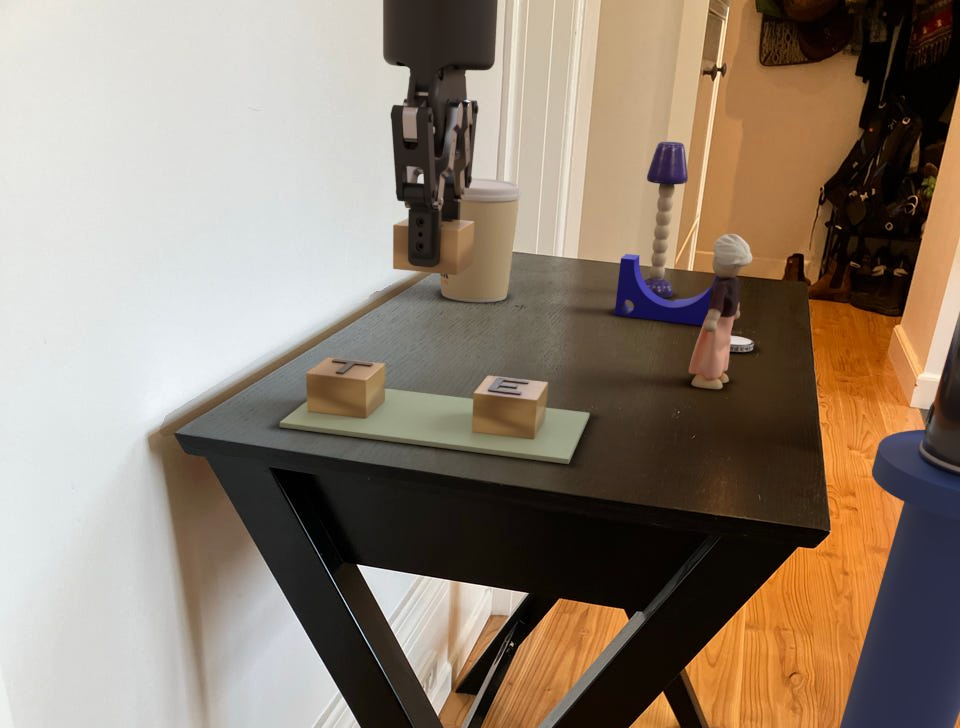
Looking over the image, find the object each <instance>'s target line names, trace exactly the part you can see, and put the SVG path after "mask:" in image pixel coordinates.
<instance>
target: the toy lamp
mask: <svg viewBox="0 0 960 728" xmlns="http://www.w3.org/2000/svg"><path fill="white" fill-rule="evenodd" d="M687 166H688V165H687V157H686V149H685V145H684V143H682V142H677V141H660V142H659V143H657V145H656V148H655V151H654V154H653V156H652V160H651V162H650V165H649V168H648V172H647V175H646V180H647V182H649V183H652V184H659V186H658V196H659V197H658V199H657V203H656V207H657V212H656V215H655V223H656V224H655V227H654V231H653V235H654V240H653V242H652V251H653V252H652V255H651V259H650V260H651V267H650V269H649V277H648V278H646V279H643V280H644V282H645V283H646V285H647V286H648V288H649V289H650V290H651V291H652V292H653V293H654V294H656V295H657V296H659V297H660V298H662V299H669V298H671V297H673V296H674V292H673V287H672V284H671V283H670V281H668V280H667V279H665V278H664V277H665V274H666V268H665V264H666V262H667V251H668V248H669V241H668V238H669V236H670V233H671V229H670V228H671V227H670V224H671V221H672V212H671V211H672V209H673V205H674V199H673V196H674V194H675V188H676V187H675V185H684V184H686V183H687V182H688V180H689V179H688V177H689V176H688V175H689V174H688V167H687Z"/></svg>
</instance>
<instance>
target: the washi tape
mask: <svg viewBox="0 0 960 728" xmlns="http://www.w3.org/2000/svg"><path fill="white" fill-rule="evenodd" d="M754 345H755V342H754V341H753V340H752V339H749V338H746V337H742V336H738V335H737V336H736V335H731V343H730V352H733V353H734V352H736V353H739V352H740V353H746V352H751V351H753V350H754Z"/></svg>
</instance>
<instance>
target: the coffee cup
mask: <svg viewBox="0 0 960 728" xmlns="http://www.w3.org/2000/svg"><path fill="white" fill-rule="evenodd" d="M521 195H522V194H521V191H520V190H519V185H518V184H517V183H514V182H511V181H508V180H507V181H506V180H500V179H490V178H477V177H476V178H475V177H472V182H471V183H470V187H469V188H466V193H465V195H464V198H463V200H459V199H458V201H459V202H461V207H460V220H464V221H474V243H473V263H472V264H471V265H470V266H468V267H467V268H466V269H464V270H463V271H461V272H460V273H459V274H457V275H450V274H440V273H439V274H440V276H439V277H440V290H441V291H440V292H441V295H442V296H443V297H444V298H446V299H450V300H454V301H458V302H466V303H467V302H468V303H479V304H480V303H481V304H482V303H496V302H499V301H500V302H501V301H503V300H505V299H506V298H507V296H508V290H509V283H510V275H511V268H512V262H513V261H512V260H513V253H514V251H513V250H514V243H515V236H516V228H517V221H518V220H517V219H518V212H519V211H518V210H519V200H520V199H521Z"/></svg>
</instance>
